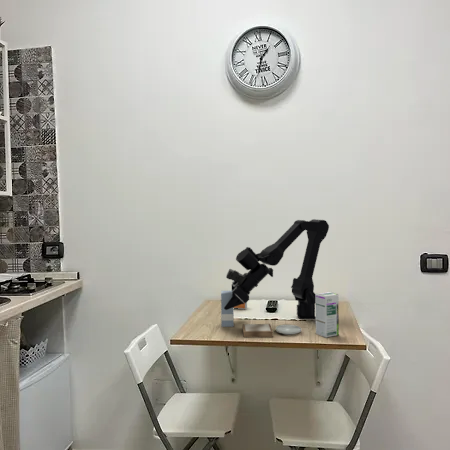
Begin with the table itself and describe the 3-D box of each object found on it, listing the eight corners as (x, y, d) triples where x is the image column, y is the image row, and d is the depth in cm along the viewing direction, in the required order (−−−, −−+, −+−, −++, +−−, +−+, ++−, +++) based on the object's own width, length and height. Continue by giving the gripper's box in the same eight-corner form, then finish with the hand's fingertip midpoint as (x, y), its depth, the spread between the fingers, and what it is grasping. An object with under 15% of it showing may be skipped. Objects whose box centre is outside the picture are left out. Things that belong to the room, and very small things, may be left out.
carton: (233, 322, 184) (233, 290, 183) (233, 326, 179) (233, 293, 178) (221, 323, 184) (221, 290, 183) (221, 326, 179) (221, 293, 178)
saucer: (299, 328, 175) (299, 324, 175) (303, 336, 166) (303, 331, 166) (274, 329, 175) (274, 324, 175) (277, 336, 166) (277, 331, 166)
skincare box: (232, 309, 206) (231, 281, 205) (233, 307, 210) (233, 279, 209) (246, 309, 205) (246, 281, 204) (247, 307, 209) (247, 280, 208)
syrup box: (325, 338, 163) (326, 295, 163) (315, 333, 169) (315, 292, 168) (339, 335, 166) (339, 294, 165) (327, 331, 171) (328, 291, 170)
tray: (270, 328, 175) (270, 323, 175) (272, 336, 165) (272, 331, 165) (242, 329, 175) (242, 323, 175) (243, 337, 165) (243, 331, 165)
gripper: (238, 258, 189) (210, 286, 190) (239, 265, 170) (208, 296, 171) (258, 278, 190) (230, 306, 190) (261, 287, 171) (231, 318, 172)
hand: (224, 306), depth 181 cm, fingers open, 9 cm apart
